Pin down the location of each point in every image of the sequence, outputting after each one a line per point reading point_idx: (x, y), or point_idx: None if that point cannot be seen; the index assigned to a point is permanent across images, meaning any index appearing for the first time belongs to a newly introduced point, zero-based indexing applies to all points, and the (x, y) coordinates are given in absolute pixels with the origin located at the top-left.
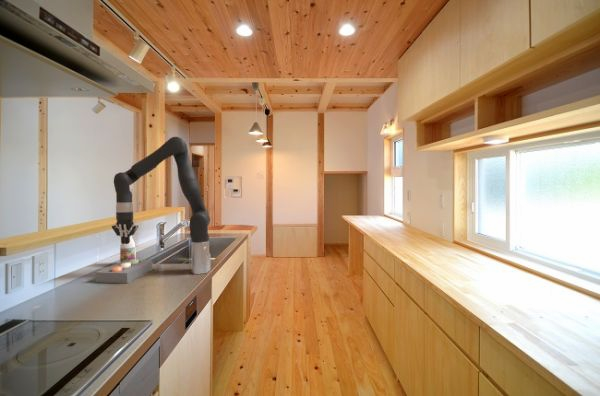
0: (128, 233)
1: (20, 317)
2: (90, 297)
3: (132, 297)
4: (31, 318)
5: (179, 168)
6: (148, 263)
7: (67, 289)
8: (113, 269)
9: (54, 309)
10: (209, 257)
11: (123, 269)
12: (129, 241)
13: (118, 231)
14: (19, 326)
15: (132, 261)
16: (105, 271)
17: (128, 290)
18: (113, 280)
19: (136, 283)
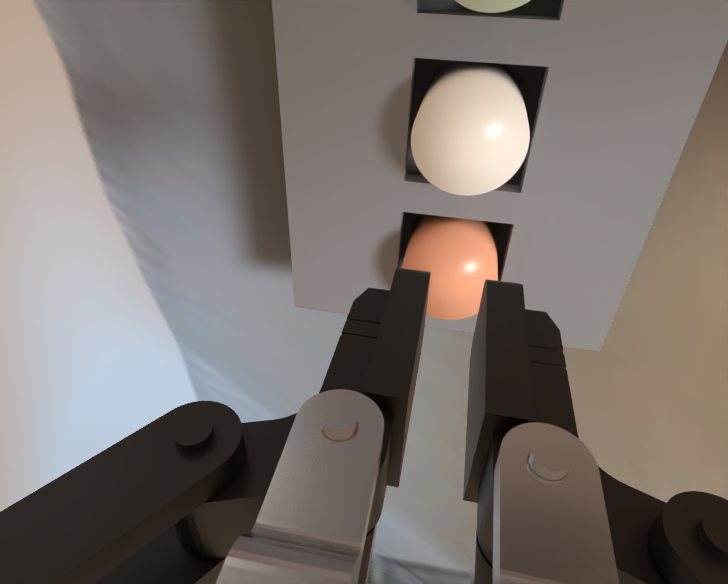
0: (539, 554)
1: None
2: (464, 452)
3: (711, 486)
4: (375, 550)
5: None
6: None
7: (249, 351)
8: (439, 313)
9: (395, 517)
10: None
11: (491, 217)
12: (555, 345)
13: (69, 532)
14: (386, 577)
15: (506, 10)
16: (363, 291)
17: (648, 405)
18: None
19: (667, 300)
